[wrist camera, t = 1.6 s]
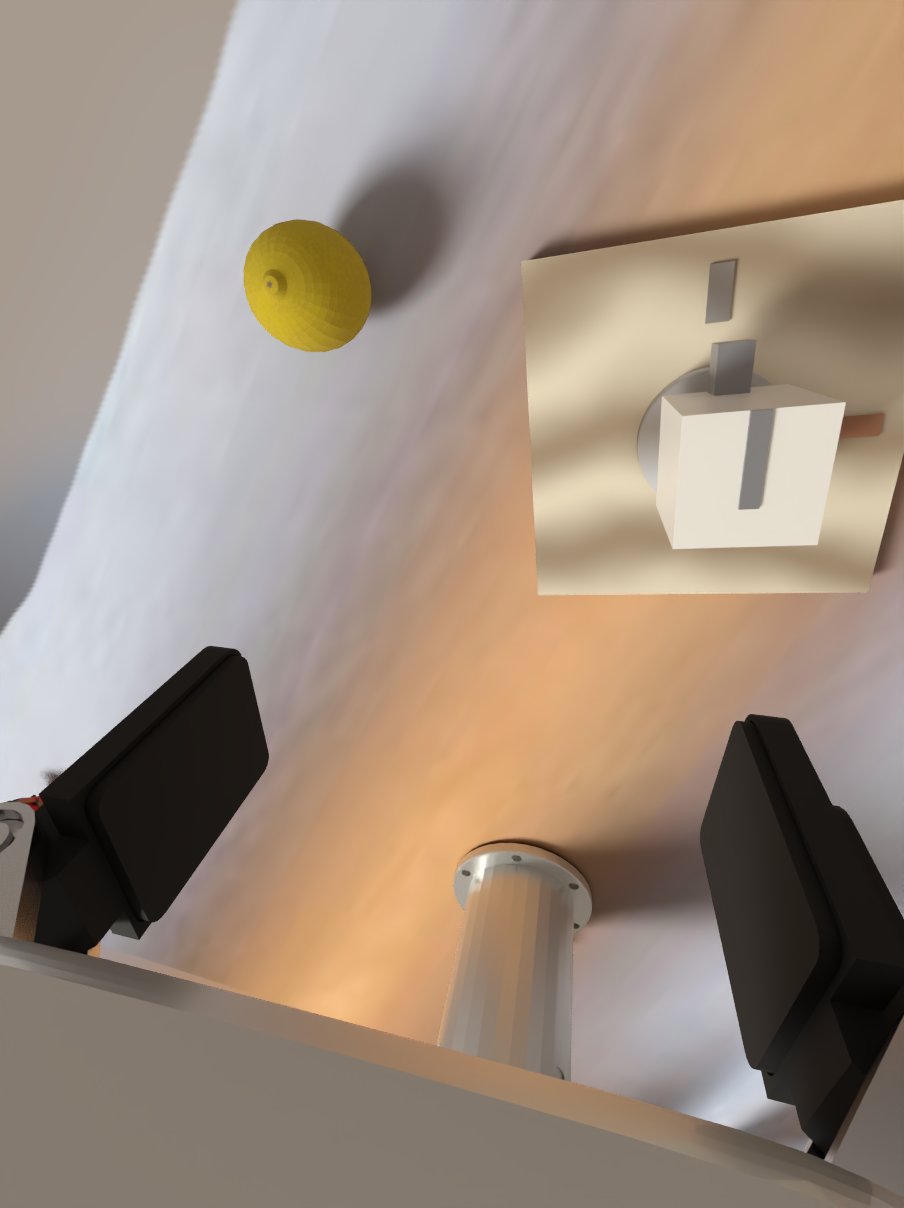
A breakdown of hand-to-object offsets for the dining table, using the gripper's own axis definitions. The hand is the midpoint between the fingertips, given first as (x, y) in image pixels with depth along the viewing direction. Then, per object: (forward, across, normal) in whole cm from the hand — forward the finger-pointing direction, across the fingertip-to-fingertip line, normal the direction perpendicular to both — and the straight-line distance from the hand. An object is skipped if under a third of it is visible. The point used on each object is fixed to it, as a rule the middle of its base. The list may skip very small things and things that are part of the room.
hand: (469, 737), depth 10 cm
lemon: (+25, +12, -8) cm, 28 cm away
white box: (+20, -8, -3) cm, 22 cm away
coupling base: (+24, -8, -2) cm, 26 cm away
